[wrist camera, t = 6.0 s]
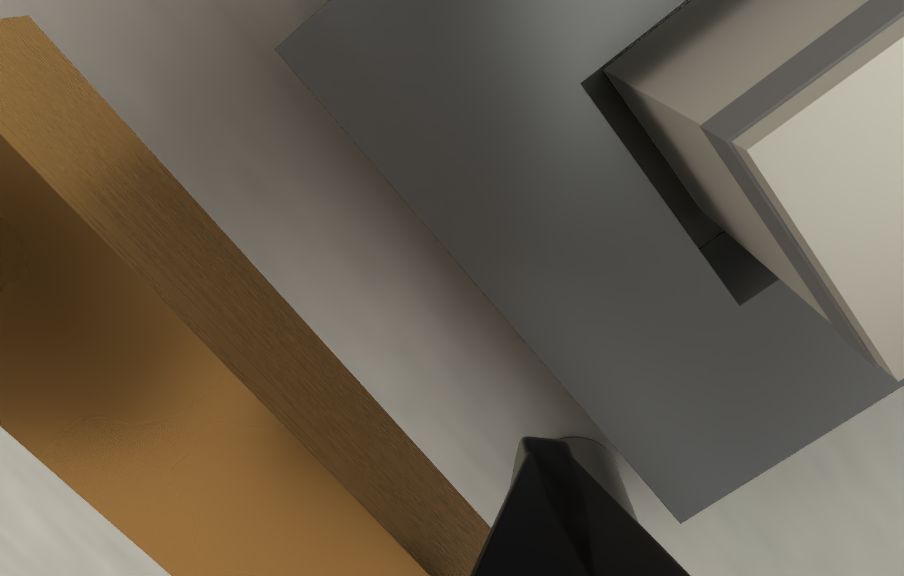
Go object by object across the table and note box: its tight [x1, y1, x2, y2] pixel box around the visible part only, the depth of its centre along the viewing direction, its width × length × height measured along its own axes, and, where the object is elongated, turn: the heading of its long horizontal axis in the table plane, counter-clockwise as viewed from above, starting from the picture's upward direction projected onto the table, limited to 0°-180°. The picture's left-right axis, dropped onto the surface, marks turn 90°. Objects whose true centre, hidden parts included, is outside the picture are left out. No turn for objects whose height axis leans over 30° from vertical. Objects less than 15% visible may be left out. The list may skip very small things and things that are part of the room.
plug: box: [603, 0, 904, 382], centre depth 13 cm, size 4×4×8 cm
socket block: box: [275, 0, 904, 524], centre depth 13 cm, size 14×16×8 cm
